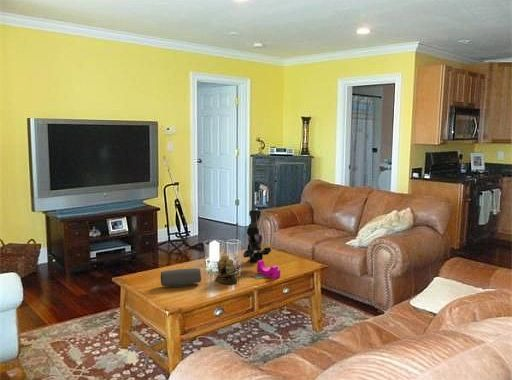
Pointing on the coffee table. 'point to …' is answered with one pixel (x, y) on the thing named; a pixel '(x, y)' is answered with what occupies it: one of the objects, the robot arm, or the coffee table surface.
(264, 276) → the mat
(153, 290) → the coffee table surface
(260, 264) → the toy block
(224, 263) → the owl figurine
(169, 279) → the bluetooth speaker
